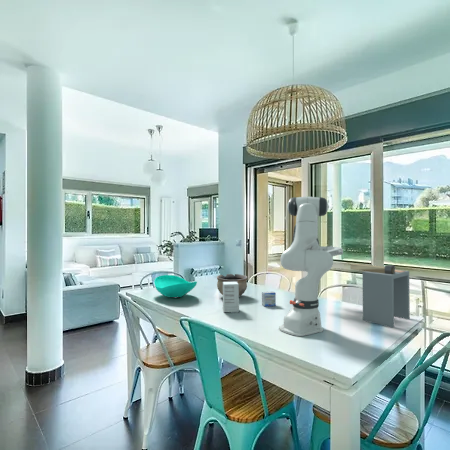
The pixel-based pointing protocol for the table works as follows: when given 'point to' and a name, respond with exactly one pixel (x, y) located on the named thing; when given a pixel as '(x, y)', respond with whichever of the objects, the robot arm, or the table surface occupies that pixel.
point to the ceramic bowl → (231, 278)
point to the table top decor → (173, 285)
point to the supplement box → (230, 297)
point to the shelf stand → (385, 297)
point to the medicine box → (268, 299)
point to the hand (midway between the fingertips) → (335, 254)
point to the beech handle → (374, 268)
